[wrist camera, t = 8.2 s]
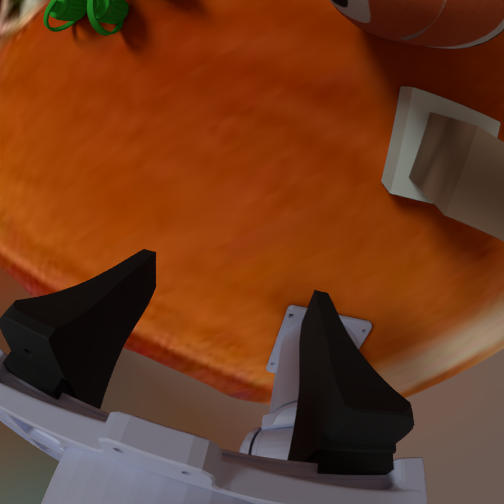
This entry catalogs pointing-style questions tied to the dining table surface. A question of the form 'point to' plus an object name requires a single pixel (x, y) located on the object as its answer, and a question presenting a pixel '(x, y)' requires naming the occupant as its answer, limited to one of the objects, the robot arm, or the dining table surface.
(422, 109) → the sage slab
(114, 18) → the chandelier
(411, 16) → the toy
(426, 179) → the walnut block
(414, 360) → the dining table surface
